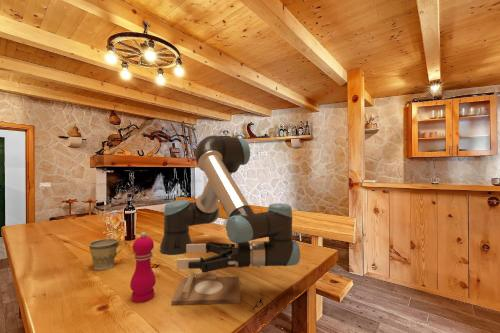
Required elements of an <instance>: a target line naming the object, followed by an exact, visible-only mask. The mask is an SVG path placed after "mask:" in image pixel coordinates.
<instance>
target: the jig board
mask: <svg viewBox="0 0 500 333" xmlns="http://www.w3.org/2000/svg"><path fill="white" fill-rule="evenodd" d="M217 275H218V274H217V271H209V272H205V273H202V271H197V272H190V273H189V274H188V277H182V278H181V279H180V282H179V284H178V286H177V288H176V290H175V292H174V294H173V297H172V299H171V302H170V303H171V306H188V305H189V304H190V305H192V304H193V305H214V304H215V305H216V304H218V305H221V304H222V305H224V304H226V305H227V304H241V289H240V288H241V287H240V276H238V275H237V276H236V275H235V276H217ZM187 304H188V305H187Z"/></svg>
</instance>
